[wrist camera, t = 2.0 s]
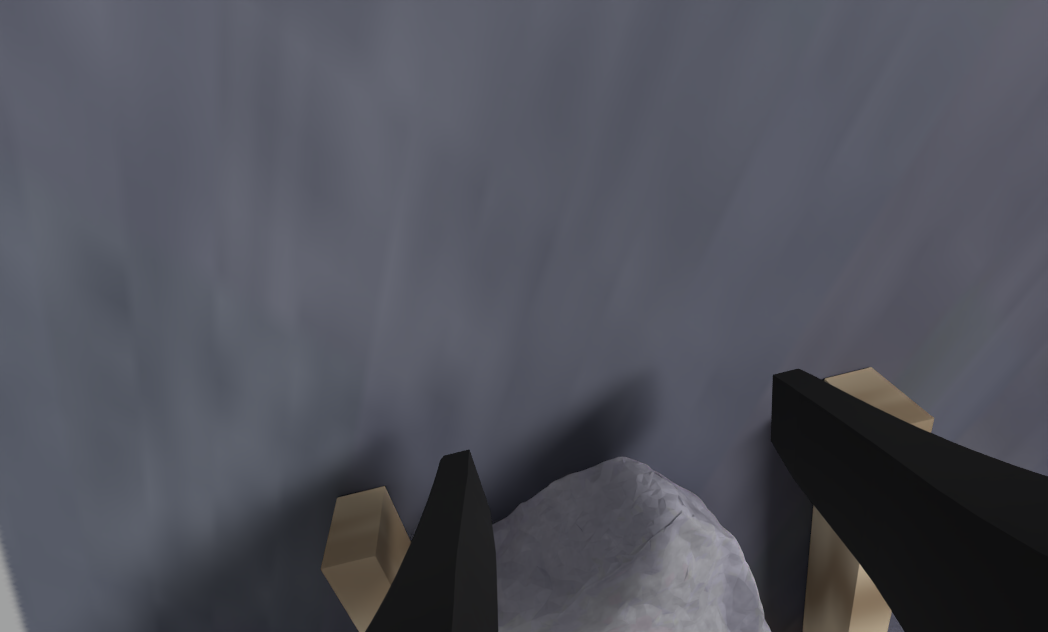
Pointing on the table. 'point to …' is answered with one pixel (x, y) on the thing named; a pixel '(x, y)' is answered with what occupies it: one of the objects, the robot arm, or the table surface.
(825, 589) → the pair of wooden posts
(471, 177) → the table surface
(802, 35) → the table surface
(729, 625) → the stone block
